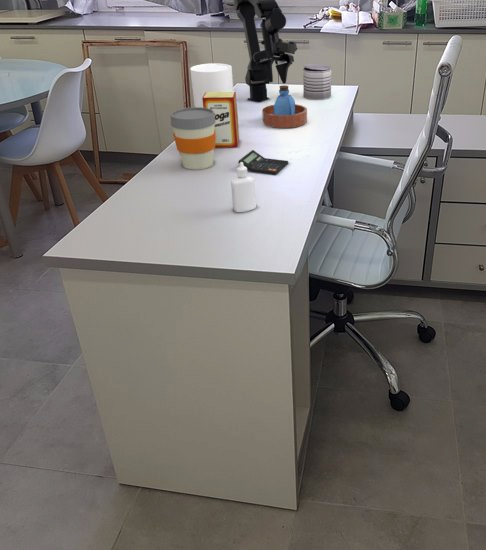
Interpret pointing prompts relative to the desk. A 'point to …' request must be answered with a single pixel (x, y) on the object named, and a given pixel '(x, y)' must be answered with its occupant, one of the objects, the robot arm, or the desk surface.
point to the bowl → (284, 117)
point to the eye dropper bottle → (243, 191)
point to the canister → (210, 80)
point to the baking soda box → (223, 117)
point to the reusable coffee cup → (194, 136)
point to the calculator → (262, 163)
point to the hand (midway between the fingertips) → (278, 82)
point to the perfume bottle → (284, 102)
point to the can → (317, 82)
